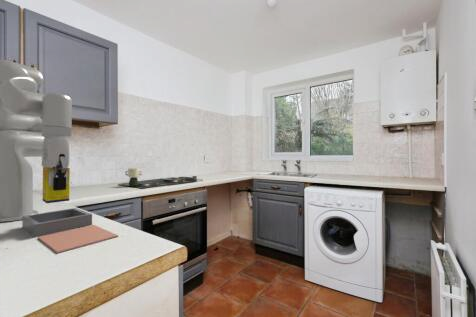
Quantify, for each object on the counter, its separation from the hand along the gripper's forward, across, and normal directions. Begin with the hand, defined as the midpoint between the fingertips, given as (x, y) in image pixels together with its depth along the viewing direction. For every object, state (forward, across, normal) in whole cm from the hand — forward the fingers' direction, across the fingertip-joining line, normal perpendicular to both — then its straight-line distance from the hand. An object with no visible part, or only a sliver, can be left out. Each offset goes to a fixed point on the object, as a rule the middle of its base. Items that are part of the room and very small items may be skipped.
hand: (56, 188), depth 74 cm
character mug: (+14, -68, +64) cm, 94 cm away
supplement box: (+4, 0, 0) cm, 4 cm away
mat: (+12, +18, 0) cm, 22 cm away
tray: (+12, +1, 0) cm, 12 cm away
